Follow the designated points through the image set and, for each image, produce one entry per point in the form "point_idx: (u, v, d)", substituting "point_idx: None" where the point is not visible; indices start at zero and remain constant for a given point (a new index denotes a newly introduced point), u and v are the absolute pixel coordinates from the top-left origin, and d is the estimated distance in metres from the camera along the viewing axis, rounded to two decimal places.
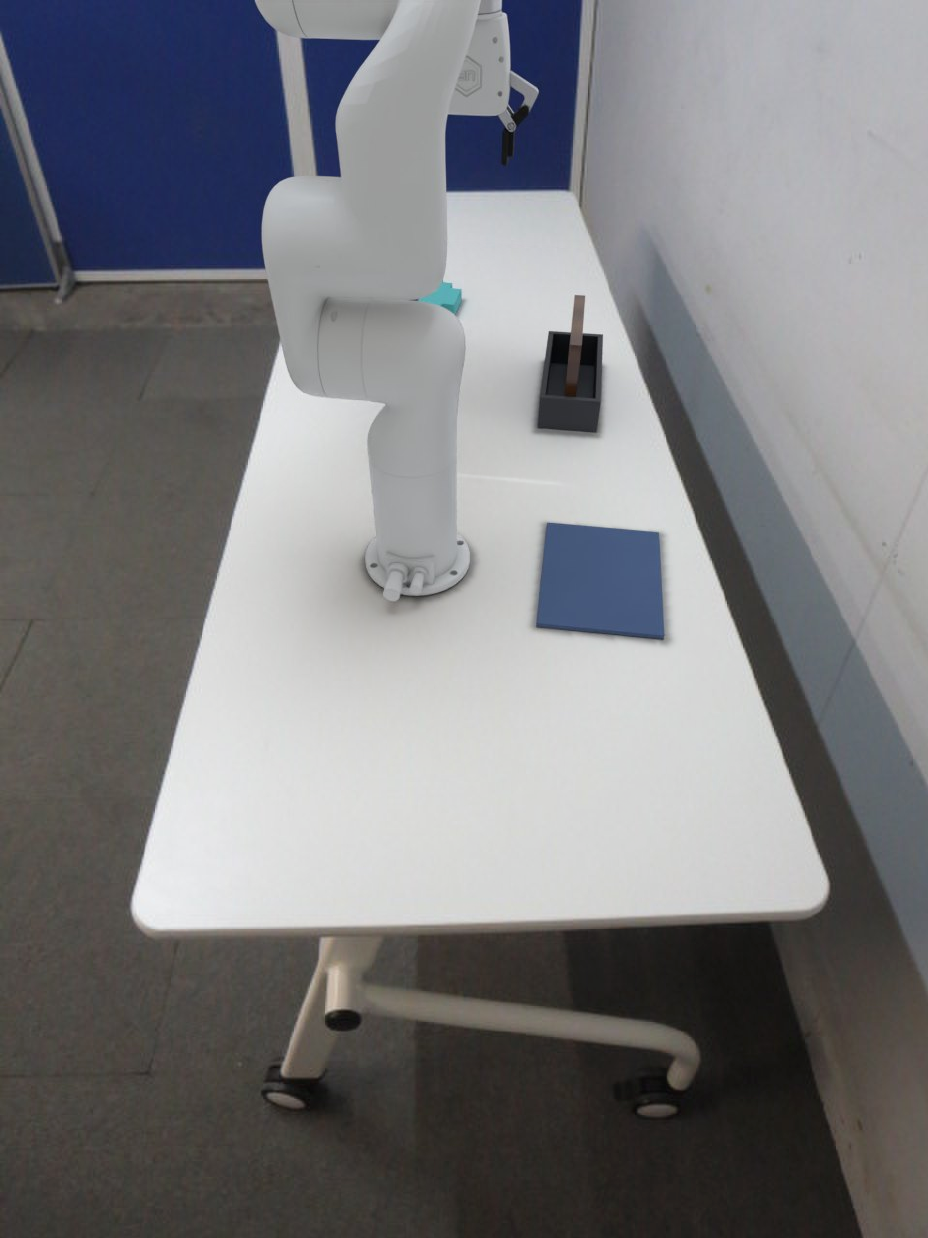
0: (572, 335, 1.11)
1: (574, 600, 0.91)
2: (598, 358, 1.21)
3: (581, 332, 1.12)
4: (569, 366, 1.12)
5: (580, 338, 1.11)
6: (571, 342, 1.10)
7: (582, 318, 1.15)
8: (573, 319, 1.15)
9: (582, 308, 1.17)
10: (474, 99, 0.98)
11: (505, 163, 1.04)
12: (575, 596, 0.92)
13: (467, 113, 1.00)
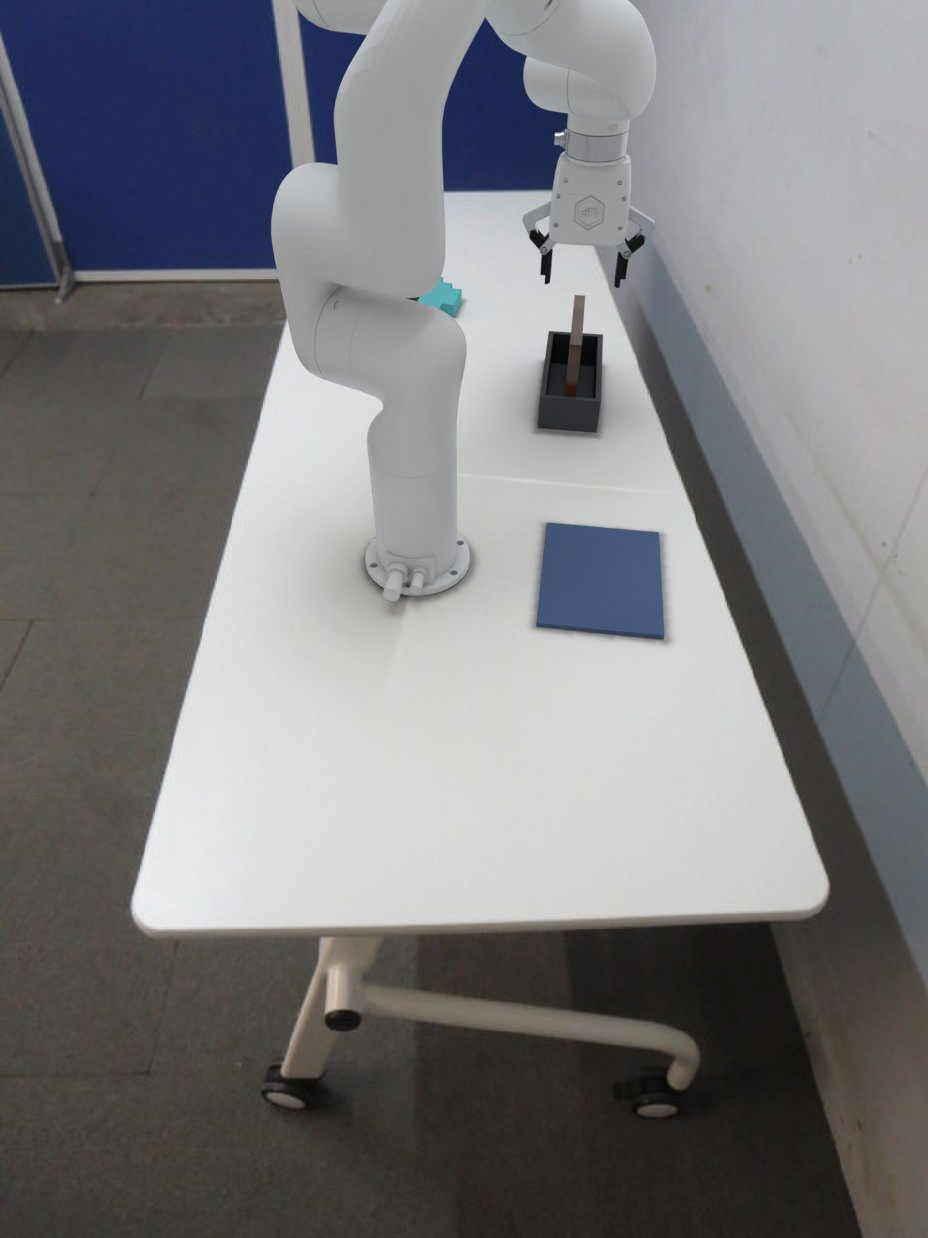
0: (572, 335, 1.11)
1: (574, 600, 0.91)
2: (598, 358, 1.21)
3: (581, 332, 1.12)
4: (569, 366, 1.12)
5: (580, 338, 1.11)
6: (571, 342, 1.10)
7: (582, 318, 1.15)
8: (573, 319, 1.15)
9: (582, 308, 1.17)
10: (595, 232, 1.04)
11: (618, 286, 1.10)
12: (575, 596, 0.92)
13: (587, 244, 1.05)
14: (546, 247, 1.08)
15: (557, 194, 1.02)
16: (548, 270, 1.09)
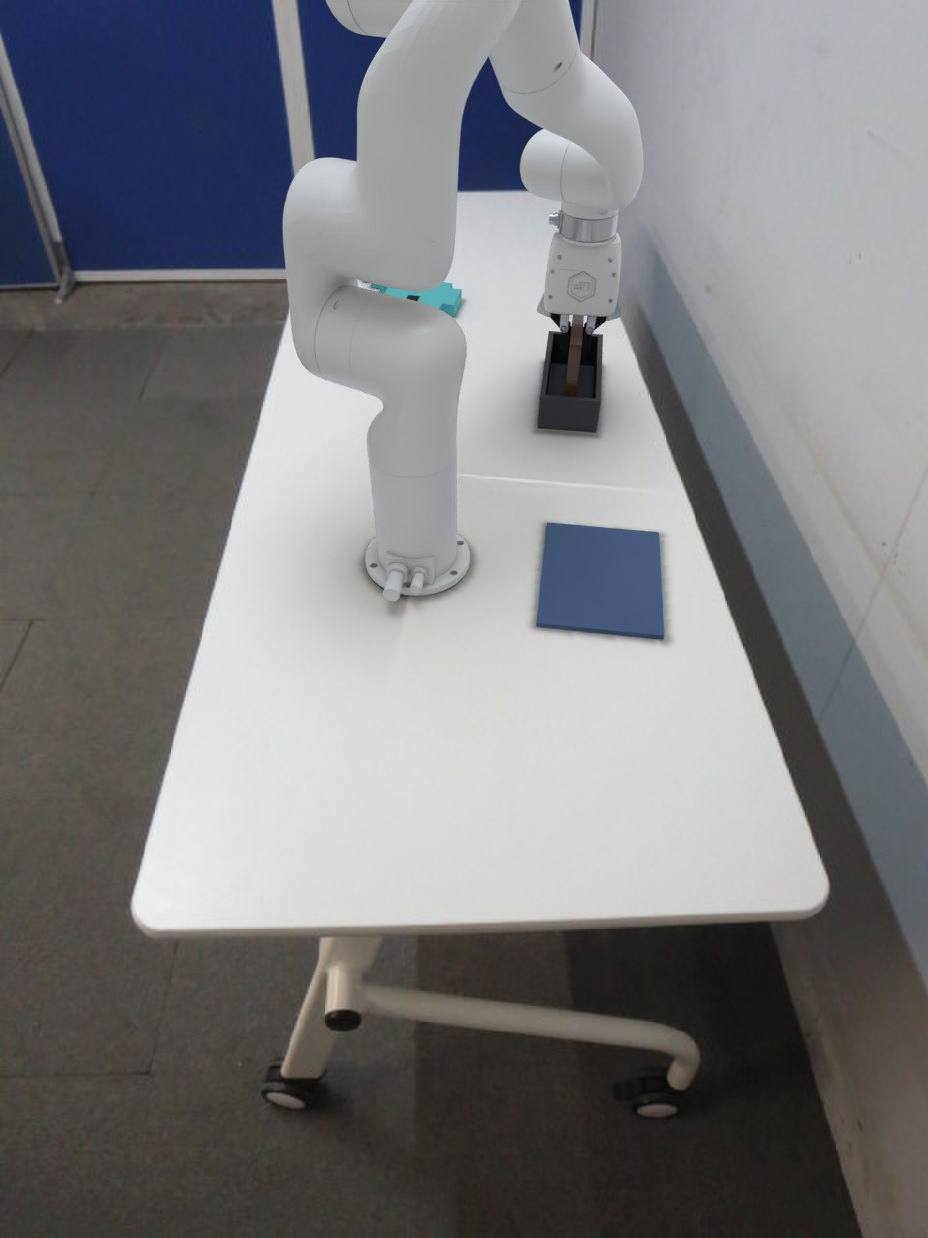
0: (572, 335, 1.11)
1: (574, 600, 0.91)
2: (598, 358, 1.21)
3: (581, 332, 1.12)
4: (569, 366, 1.12)
5: (580, 338, 1.11)
6: (571, 342, 1.10)
7: (582, 318, 1.15)
8: (573, 319, 1.15)
9: None
10: (587, 304, 1.10)
11: (583, 358, 1.17)
12: (575, 596, 0.92)
13: (579, 314, 1.12)
14: (564, 325, 1.15)
15: (551, 269, 1.08)
16: (567, 346, 1.17)
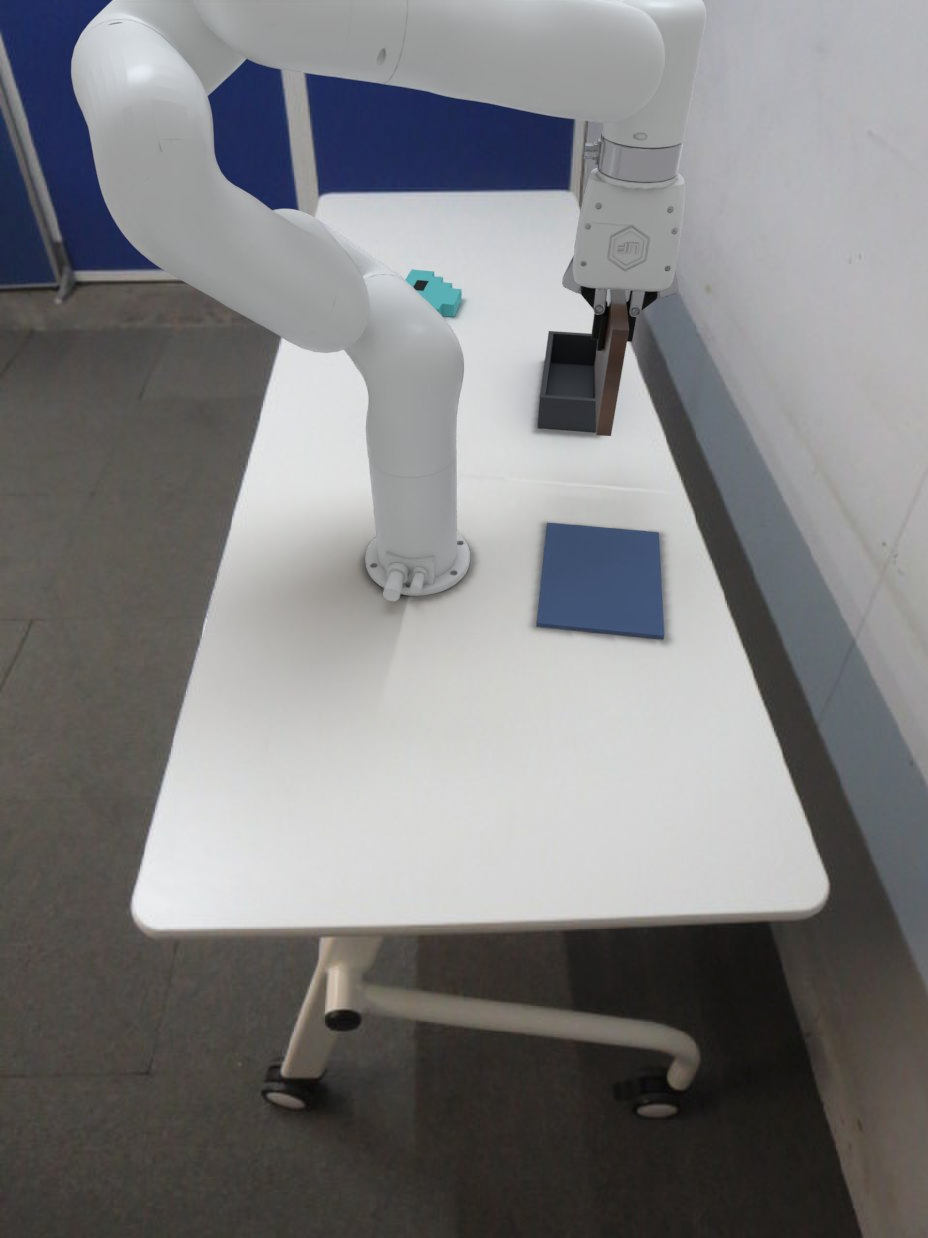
0: (614, 317, 0.80)
1: (574, 600, 0.91)
2: None
3: (625, 313, 0.81)
4: (610, 360, 0.81)
5: (625, 321, 0.80)
6: (614, 326, 0.79)
7: (624, 294, 0.84)
8: (612, 296, 0.84)
9: None
10: (634, 274, 0.79)
11: None
12: (575, 596, 0.92)
13: (623, 288, 0.81)
14: (600, 304, 0.83)
15: (586, 224, 0.77)
16: (603, 334, 0.85)
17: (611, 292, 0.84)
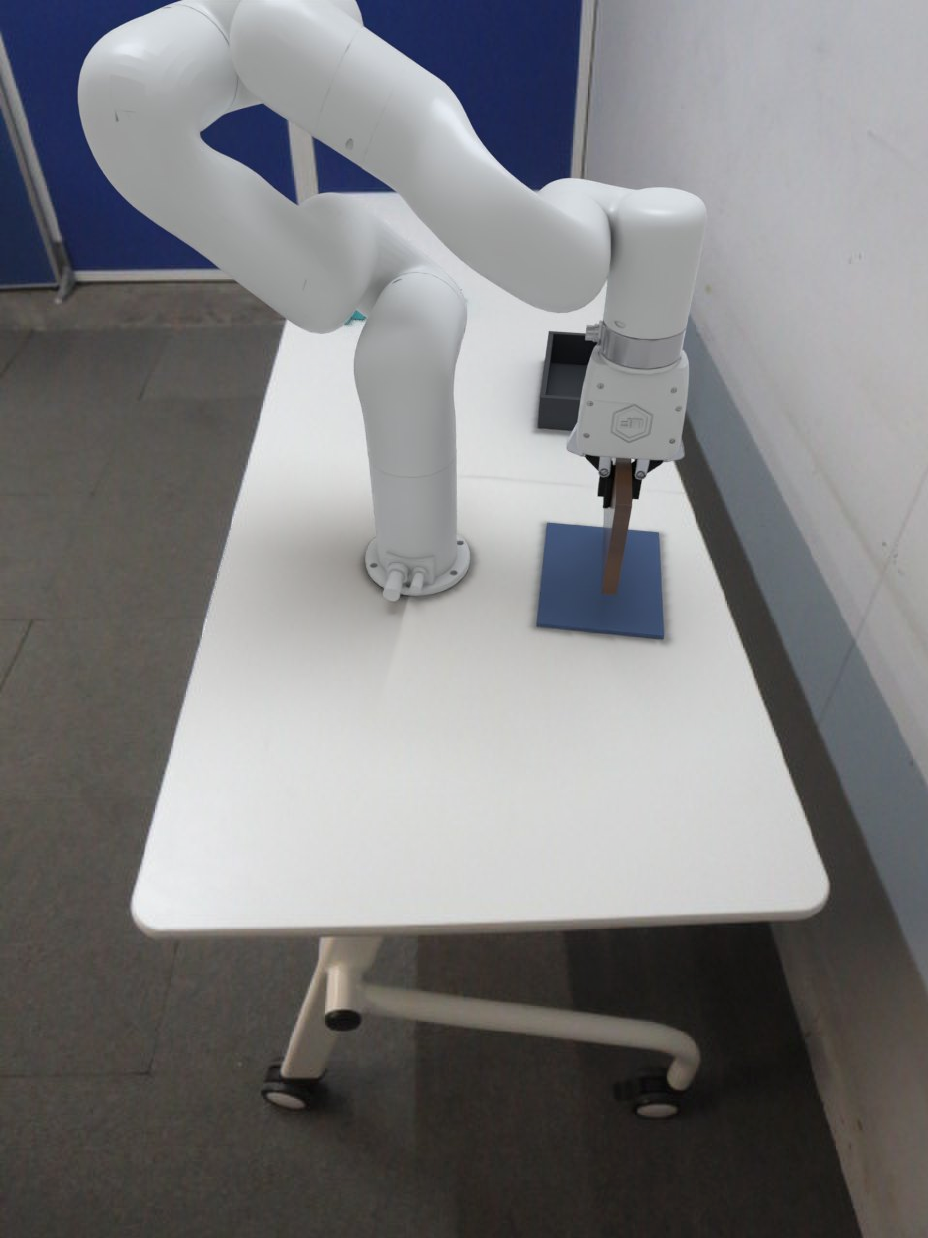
0: (618, 487, 0.79)
1: (574, 600, 0.91)
2: None
3: (630, 482, 0.80)
4: (613, 530, 0.80)
5: (629, 493, 0.79)
6: (617, 500, 0.78)
7: None
8: (617, 459, 0.83)
9: None
10: (638, 446, 0.78)
11: None
12: (575, 596, 0.92)
13: None
14: (604, 468, 0.82)
15: (588, 401, 0.76)
16: (609, 494, 0.84)
17: None
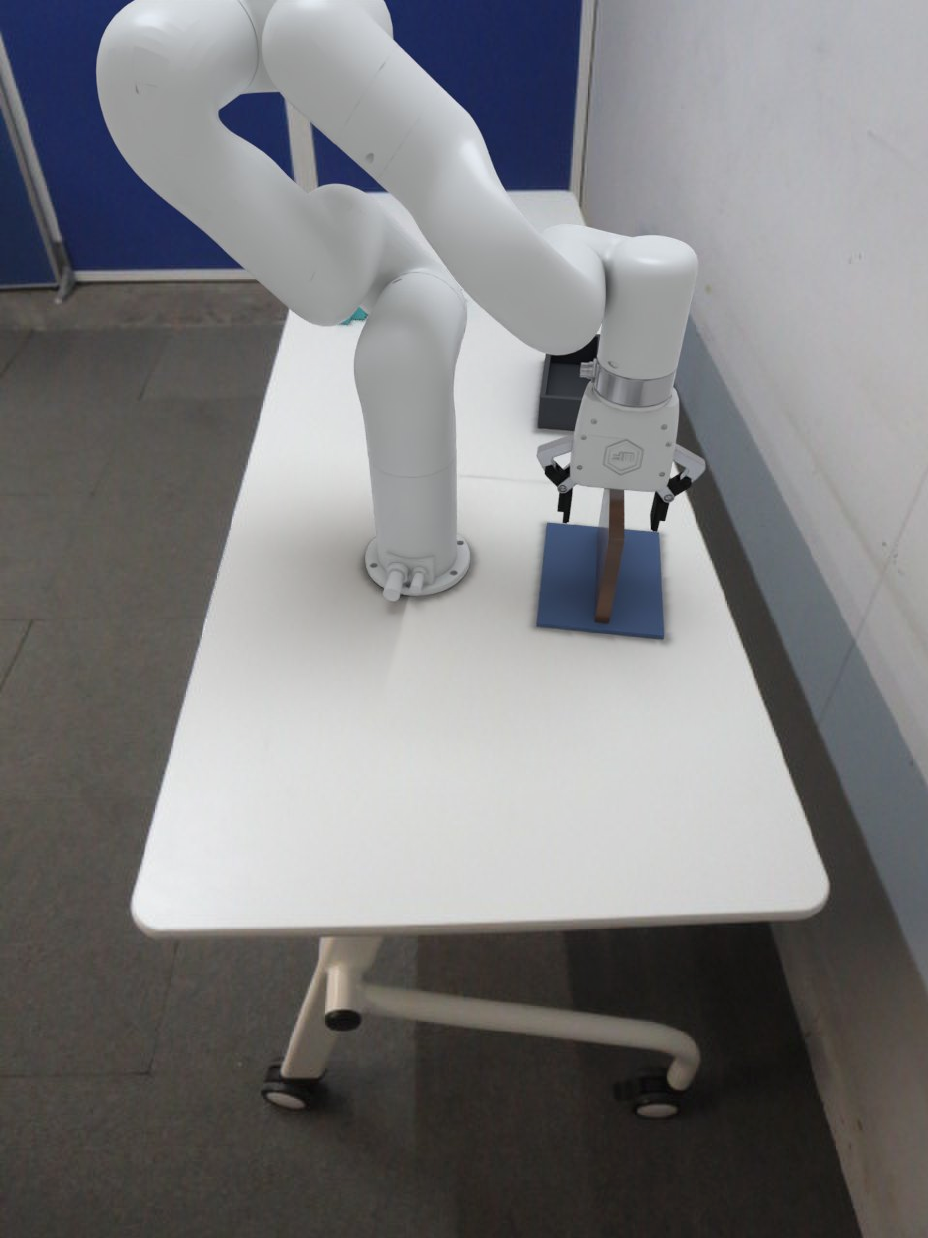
0: (611, 522, 0.82)
1: (574, 600, 0.91)
2: None
3: (622, 517, 0.83)
4: (606, 563, 0.83)
5: (622, 528, 0.82)
6: (610, 535, 0.81)
7: (622, 492, 0.86)
8: (610, 493, 0.86)
9: None
10: (629, 478, 0.81)
11: (656, 530, 0.87)
12: (575, 596, 0.92)
13: (618, 489, 0.82)
14: (566, 486, 0.85)
15: (582, 435, 0.79)
16: (568, 510, 0.87)
17: None
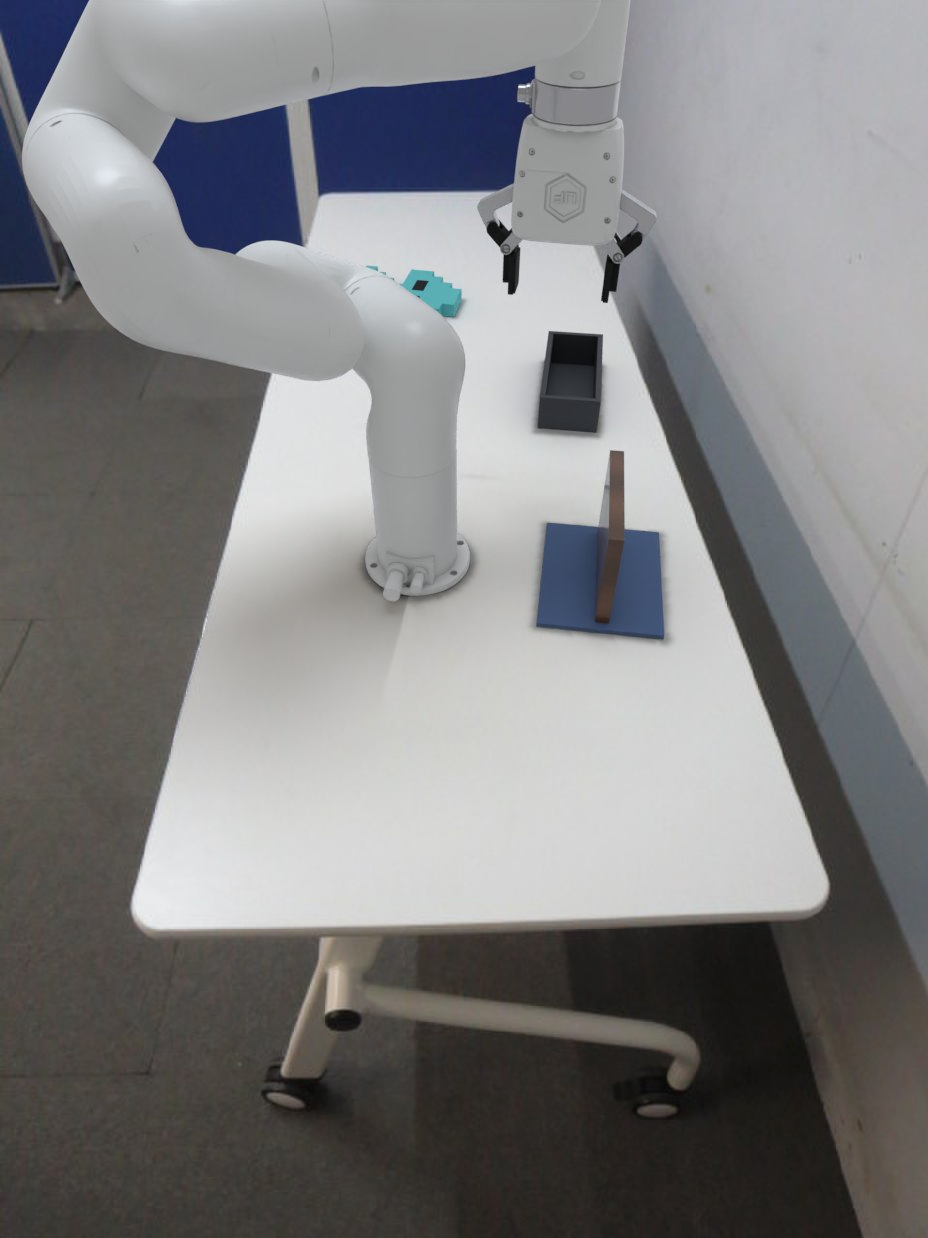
0: (611, 522, 0.82)
1: (574, 600, 0.91)
2: (598, 358, 1.21)
3: (622, 517, 0.83)
4: (606, 563, 0.83)
5: (622, 528, 0.82)
6: (610, 535, 0.81)
7: (622, 492, 0.86)
8: (610, 493, 0.86)
9: (621, 474, 0.88)
10: (573, 226, 0.76)
11: (606, 300, 0.81)
12: (575, 596, 0.92)
13: (562, 242, 0.77)
14: (509, 245, 0.80)
15: (520, 171, 0.74)
16: (512, 276, 0.81)
17: (610, 488, 0.86)
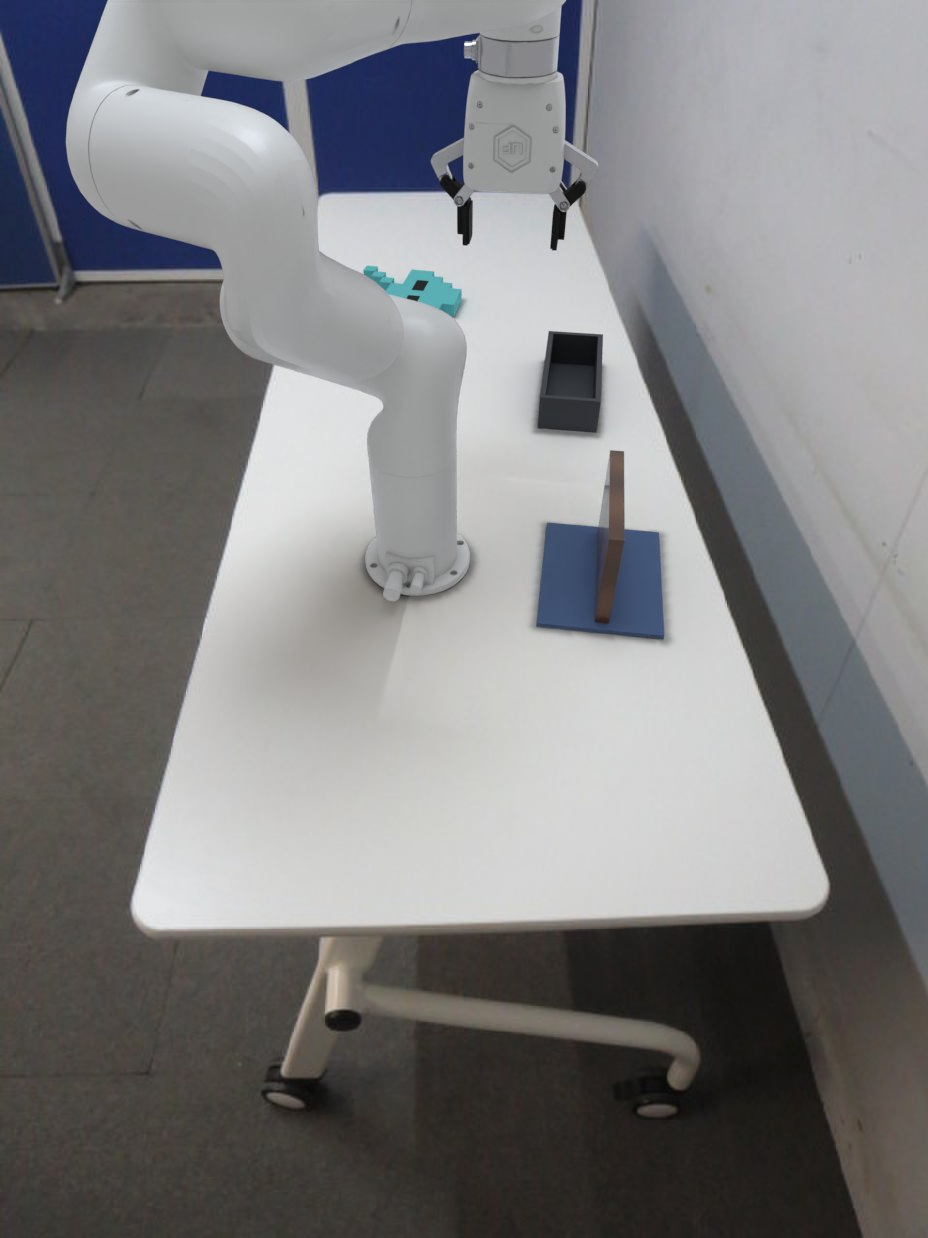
0: (611, 522, 0.82)
1: (574, 600, 0.91)
2: (598, 358, 1.21)
3: (622, 517, 0.83)
4: (606, 563, 0.83)
5: (622, 528, 0.82)
6: (610, 535, 0.81)
7: (622, 492, 0.86)
8: (610, 493, 0.86)
9: (621, 474, 0.88)
10: (521, 175, 0.81)
11: (555, 247, 0.87)
12: (575, 596, 0.92)
13: (512, 191, 0.82)
14: (462, 197, 0.85)
15: (469, 124, 0.79)
16: (466, 227, 0.86)
17: (610, 488, 0.86)
